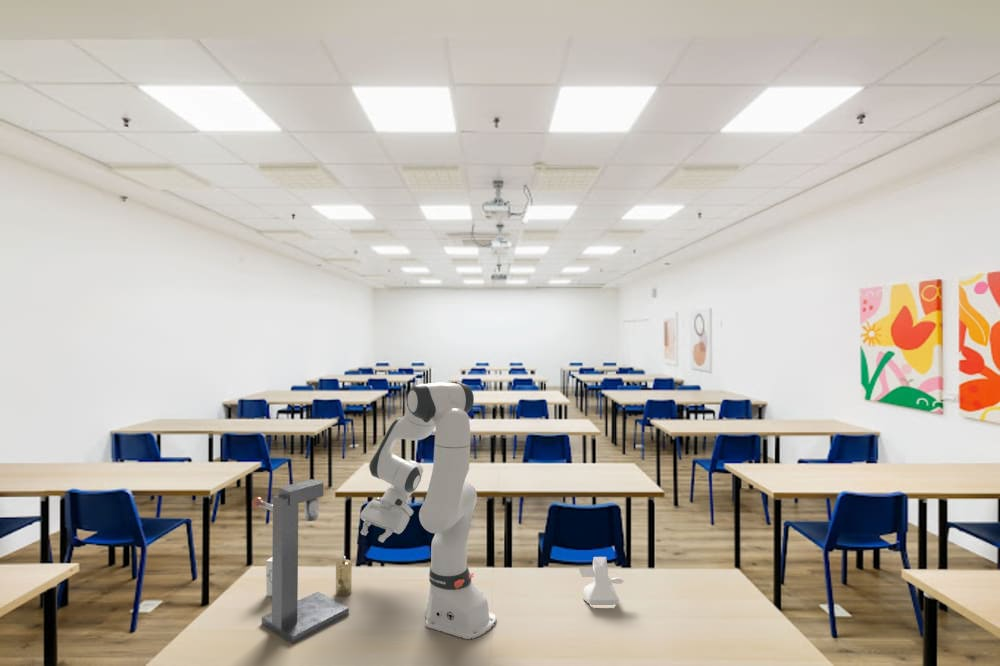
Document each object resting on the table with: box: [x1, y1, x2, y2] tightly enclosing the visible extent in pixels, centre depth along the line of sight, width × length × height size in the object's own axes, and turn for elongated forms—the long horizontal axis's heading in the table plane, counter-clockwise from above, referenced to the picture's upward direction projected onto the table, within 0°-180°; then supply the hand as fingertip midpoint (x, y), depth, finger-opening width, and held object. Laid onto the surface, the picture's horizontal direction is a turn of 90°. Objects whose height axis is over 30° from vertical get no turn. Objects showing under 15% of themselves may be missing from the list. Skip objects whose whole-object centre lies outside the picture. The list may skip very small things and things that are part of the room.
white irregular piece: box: [578, 556, 625, 606], centre depth 168 cm, size 8×14×14 cm, turn 91°
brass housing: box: [335, 555, 353, 598], centre depth 172 cm, size 5×5×12 cm
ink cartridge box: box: [265, 556, 272, 597], centre depth 173 cm, size 9×5×15 cm, turn 168°
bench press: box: [251, 478, 350, 645], centre depth 159 cm, size 25×19×41 cm
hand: (371, 537), depth 181 cm, fingers open, 8 cm apart
